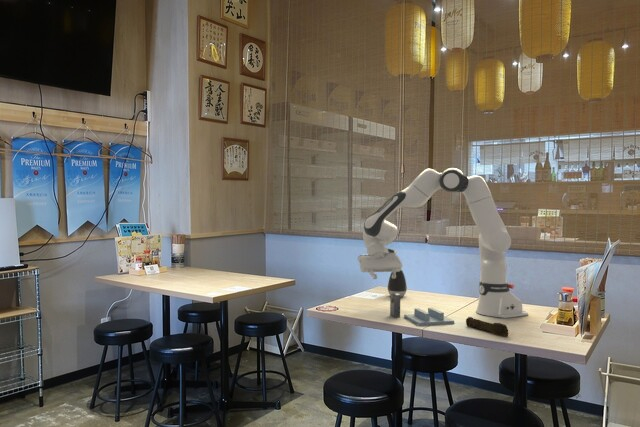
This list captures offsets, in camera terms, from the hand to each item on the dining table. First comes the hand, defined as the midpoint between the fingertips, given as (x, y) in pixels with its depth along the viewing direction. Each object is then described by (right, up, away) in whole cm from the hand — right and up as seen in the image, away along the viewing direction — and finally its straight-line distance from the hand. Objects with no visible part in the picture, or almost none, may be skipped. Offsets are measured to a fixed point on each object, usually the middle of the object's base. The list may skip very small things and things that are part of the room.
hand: (384, 278), depth 220 cm
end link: (+3, -15, -11) cm, 19 cm away
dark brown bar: (+36, -17, -34) cm, 52 cm away
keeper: (+16, -15, -18) cm, 29 cm away
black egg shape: (+11, -14, +33) cm, 38 cm away
